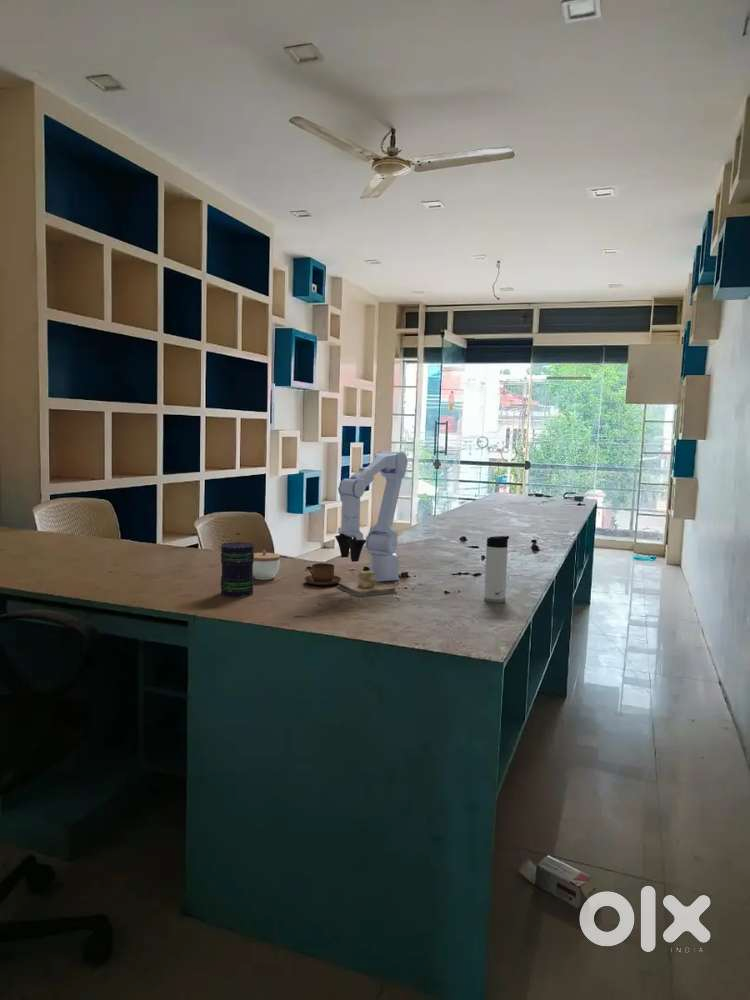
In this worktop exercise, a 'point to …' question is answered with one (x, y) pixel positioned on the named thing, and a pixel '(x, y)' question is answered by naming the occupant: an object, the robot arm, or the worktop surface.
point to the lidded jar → (265, 565)
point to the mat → (366, 593)
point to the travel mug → (496, 569)
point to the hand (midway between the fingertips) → (349, 559)
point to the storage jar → (237, 569)
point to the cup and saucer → (322, 575)
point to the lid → (366, 584)
